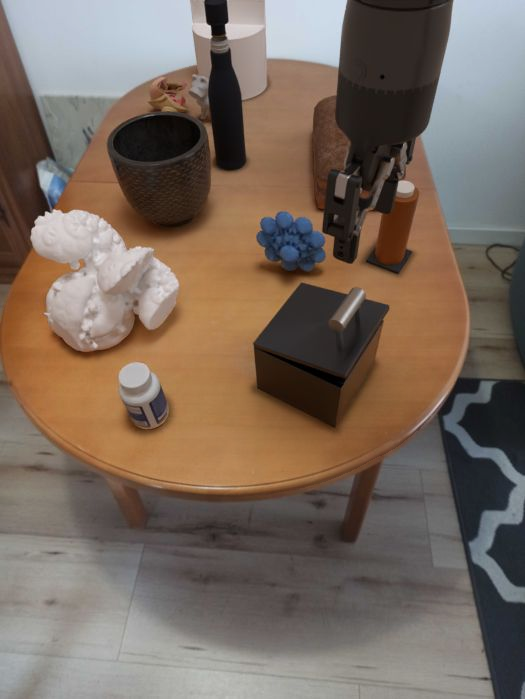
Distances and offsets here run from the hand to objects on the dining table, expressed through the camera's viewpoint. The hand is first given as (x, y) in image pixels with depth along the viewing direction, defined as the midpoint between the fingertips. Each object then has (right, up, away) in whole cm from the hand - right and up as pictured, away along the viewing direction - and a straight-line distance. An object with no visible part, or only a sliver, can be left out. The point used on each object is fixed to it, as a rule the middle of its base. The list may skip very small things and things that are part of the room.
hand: (363, 233), depth 50 cm
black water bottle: (-17, +29, +58) cm, 67 cm away
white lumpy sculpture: (-33, -6, +33) cm, 47 cm away
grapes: (-5, +1, +37) cm, 37 cm away
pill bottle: (-26, -21, +21) cm, 39 cm away
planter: (-27, +15, +48) cm, 57 cm away
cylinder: (-17, +56, +79) cm, 99 cm away
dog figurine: (-21, +44, +70) cm, 85 cm away
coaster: (+12, +5, +38) cm, 40 cm away
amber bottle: (+12, +5, +38) cm, 40 cm away
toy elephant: (-33, +45, +72) cm, 91 cm away
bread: (+9, +26, +55) cm, 61 cm away
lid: (-2, -9, +15) cm, 17 cm away
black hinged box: (-2, -15, +24) cm, 28 cm away
